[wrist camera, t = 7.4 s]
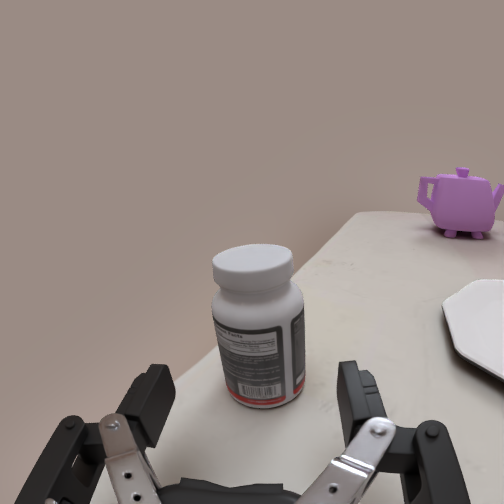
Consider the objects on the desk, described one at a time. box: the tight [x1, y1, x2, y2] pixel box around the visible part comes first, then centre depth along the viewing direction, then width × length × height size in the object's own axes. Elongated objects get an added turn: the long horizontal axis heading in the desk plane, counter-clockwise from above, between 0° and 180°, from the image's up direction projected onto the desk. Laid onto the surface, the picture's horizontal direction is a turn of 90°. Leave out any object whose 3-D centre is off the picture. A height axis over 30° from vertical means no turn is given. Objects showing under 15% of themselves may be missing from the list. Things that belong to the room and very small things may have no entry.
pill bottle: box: [212, 244, 305, 408], centre depth 19 cm, size 6×6×10 cm
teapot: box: [417, 167, 504, 239], centre depth 48 cm, size 20×12×13 cm, turn 67°
